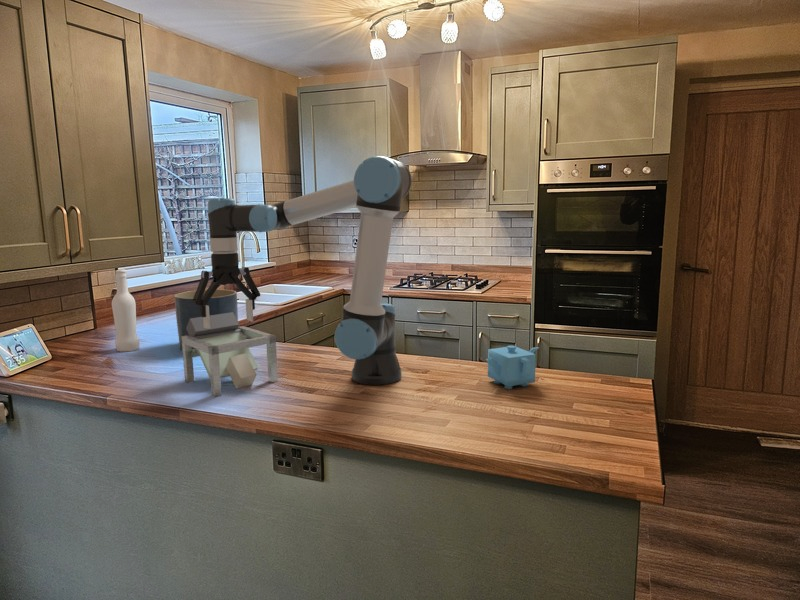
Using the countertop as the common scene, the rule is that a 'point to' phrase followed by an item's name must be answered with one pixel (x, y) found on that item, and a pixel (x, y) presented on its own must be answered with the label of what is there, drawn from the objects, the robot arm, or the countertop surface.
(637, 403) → the countertop surface
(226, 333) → the trapdoor
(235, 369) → the cream rectangular block
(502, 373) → the teapot
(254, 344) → the frame
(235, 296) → the planter
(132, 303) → the bottle
